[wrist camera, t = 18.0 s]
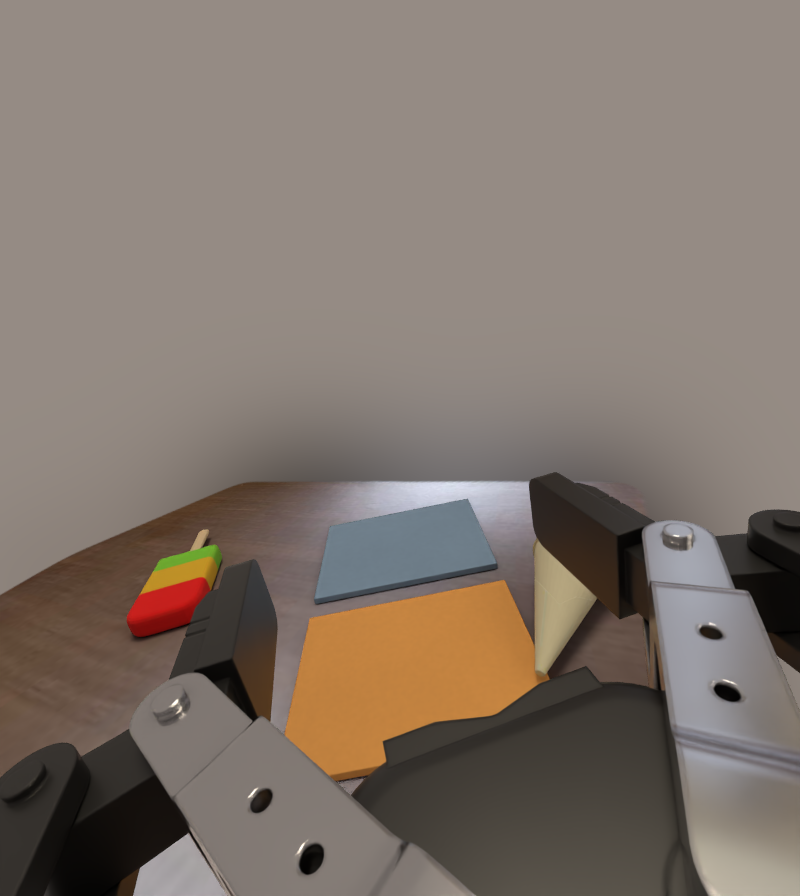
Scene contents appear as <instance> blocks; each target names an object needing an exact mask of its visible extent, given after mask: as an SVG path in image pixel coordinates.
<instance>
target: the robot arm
mask: <svg viewBox="0 0 800 896" xmlns="http://www.w3.org/2000/svg"><path fill="white" fill-rule="evenodd" d="M529 491H530V500H531V510H532V519H533V527H534V531H535V534H536V536H537V539H538V540H539V542H540V544H541V545H542V546H543V547H544V548H545V549H546V550H547V551H548V552H549V553H550V554H551V555H552V556H553V557H554V558H556V559H557V560H558V561H559V562H560V563H561V564H562V565H563V566H564V567H565V568H566V569H567V570H568V571H569V572H570V573H571V574H572V575H573V576H575V577H576V578H577V579H578V580H579V581H580V582H581V583H582V584H583V585H584V586H585V587H586V588H587V589H588V590H589V591H590V592H591V593H592V594H594V595H595V596H596V597H597V598H598V599H599V600H600V601H601V602H602V603H603V604H604V605H605V606H606V607H607V608H608V609H609V610H610V611H611V612H613V613H614V614H615V615H616V616H617V617H618V618H619V619H622V618H625V617H628V616H630V615H633V614H636V613H639V614H640V615H641V616H642V617H643V636H644V646H645V656H646V667H647V677H648V687H647V686H642V685H637V684H632V683H623V682H599V681H598V680H597V679H596V677H595V676H594V675H593V674H592V672H591V671H590V670H589V669H588V668H587V666H585V667H582V668H580V669H577V670H574V671H572V672H569V673H566V674H564V675H561V676H558V677H555V678H553V679H550V680H547V681H545V682H542V683H539V684H538V685H536V686H535V687H533V688H532V689H531V690H529V691H528V692H527V693H525V694H524V695H522V696H521V697H520V698H518V699H517V700H515V701H514V702H513V703H511V704H510V705H508V706H507V707H506V708H504V709H503V710H501V711H500V712H498V713H497V714H495V715H491V716H485V717H475V718H466V719H456V720H447V721H438V722H433V723H431V724H428V725H425V726H422V727H420V728H417V729H414V730H412V731H409V732H406V733H404V734H401V735H398V736H395V737H393V738H390V739H387V740H385V741H382V742H383V747H384V752H385V757H386V762H385V763H383V764H382V765H380V766H379V767H378V768H376V769H375V770H374V771H373V772H372V773H371V774H370V775H369V776H367V777H366V778H365V779H364V780H363V782H362V783H361V784H360V785H359V786H358V787H357V788H356V789H355V790H354V792H353V793H352V794H351V795H350V794H349V793H348V792H346V791H345V790H344V789H343V788H342V787H341V786H340V785H339V784H338V783H337V782H335V781H334V780H333V779H332V778H331V777H330V776H329V775H328V774H327V773H326V772H324V771H323V770H322V769H321V768H320V767H319V766H318V765H317V764H316V763H315V762H313V761H312V760H311V759H310V758H309V757H308V756H307V755H306V754H305V753H304V752H302V751H301V750H300V749H299V748H298V747H297V746H296V745H295V744H294V743H293V742H291V741H290V740H289V739H288V738H287V737H286V736H285V735H284V734H283V733H282V732H280V731H279V730H278V729H277V728H276V727H275V726H274V725H273V724H272V723H271V722H270V718H271V706H272V693H273V680H274V667H275V655H276V642H277V618H276V612H275V609H274V605H273V602H272V600H271V597H270V594H269V592H268V589H267V586H266V583H265V581H264V578H263V575H262V573H261V570H260V567H259V565H258V563H257V561H256V560H255V559H253V560H249V561H246V562H243V563H239V564H236V565H232V566H229V567H226V568H225V570H224V573H223V576H222V579H221V583H220V586H219V589H217V590H213V591H210V592H208V593H207V594H206V595H205V597H204V598H203V599H202V600H201V601H200V603H199V604H198V605H197V606H196V607H195V610H194V613H193V615H192V618H191V621H190V625H189V626H188V629H187V632H186V634H185V636H186V638H184V640H183V643H182V645H181V648H180V651H179V654H178V656H177V659H176V662H175V664H174V667H173V670H172V673H171V675H170V678H169V680H168V681H167V682H165V683H163V684H162V685H160V686H159V687H157V688H156V689H155V690H154V691H152V692H151V693H150V694H149V695H148V696H147V697H146V698H145V699H144V700H143V701H142V702H141V703H140V705H139V706H138V707H137V709H136V710H135V712H134V714H133V716H132V718H131V721H130V726H129V729H128V730H127V731H125V732H123V733H122V734H120V735H118V736H117V737H115V738H113V739H111V740H110V741H108V742H106V743H104V744H103V745H101V746H99V747H97V748H96V749H94V750H92V751H91V752H89V753H87V754H85V755H84V756H82V757H81V756H80V754H79V753H78V751H77V750H76V748H75V747H74V746H73V745H72V744H69V743H57V744H53V745H50V746H47V747H44V748H42V749H40V750H38V751H36V752H34V753H32V754H31V755H29V756H27V757H26V758H24V759H23V760H21V761H20V762H19V763H17V764H16V765H14V766H13V767H12V768H11V769H10V770H8V771H7V772H6V773H5V774H4V775H3V776H2V777H1V778H0V896H133V893H134V889H135V885H136V881H137V877H138V873H139V869H140V867H142V866H143V865H144V864H146V863H147V862H149V861H150V860H151V859H153V858H154V857H156V856H157V855H158V854H160V853H161V852H163V851H164V850H165V849H167V848H168V847H169V846H171V845H172V844H174V843H175V842H176V841H178V840H179V839H181V838H182V837H183V836H185V835H186V834H189V836H190V837H191V839H192V841H193V842H194V844H195V845H196V847H197V849H198V850H199V852H200V853H201V855H202V856H203V858H204V860H205V861H206V863H207V864H208V866H209V868H210V869H211V871H212V872H213V874H214V876H215V877H216V879H217V880H218V882H219V884H220V885H221V887H222V888H223V890H224V892H225V893H226V895H227V896H800V710H799V708H798V706H797V703H796V701H795V698H794V696H793V693H792V691H791V689H790V687H789V684H788V682H787V679H786V677H785V674H784V672H783V670H782V667H781V665H780V663H779V660H778V658H777V656H778V657H780V658H781V659H782V660H784V661H785V662H786V663H787V664H789V665H790V666H791V667H793V668H794V669H795V670H797V671H798V672H799V673H800V512H797V511H790V510H765V511H760V512H757V513H755V514H753V515H751V516H750V518H749V522H748V533H747V534H736V535H725V536H714V535H713V534H712V533H711V532H710V531H709V530H707V529H705V528H703V527H701V526H699V525H696V524H693V523H689V522H684V521H676V520H665V521H658V522H655V521H653V520H651V519H650V518H648V517H646V516H644V515H643V514H641V513H639V512H637V511H636V510H634V509H632V508H630V507H629V506H627V505H625V504H623V503H620V501H618V500H617V499H615V498H613V497H609V495H608V494H606V493H604V492H603V491H601V490H599V489H597V488H596V487H592V486H588V485H585V484H581V483H574V482H572V481H571V480H569V479H567V478H566V477H564V476H562V475H561V474H559V473H557V472H554V473H550V474H547V475H544V476H540V477H537V478H534V479H531V480H530V483H529ZM776 655H777V656H776Z"/></svg>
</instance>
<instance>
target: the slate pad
mask: <svg viewBox="0 0 800 896" xmlns="http://www.w3.org/2000/svg"><path fill="white" fill-rule="evenodd" d="M496 568H498V567H497V562H496V560H495V558H494V555H493V553H492V551H491V549H490V547H489V544H488V542H487V540H486V538H485V536H484V533H483V531H482V529H481V527H480V525H479V522H478V520H477V518H476V516H475V514H474V511H473V509H472V507H471V505H470V503H469V500H468V499H464V500H459V501H454V502H449V503H444V504H439V505H434V506H429V507H424V508H419V509H414V510H409V511H404V512H399V513H394V514H389V515H384V516H379V517H374V518H369V519H364V520H359V521H354V522H349V523H344V524H339V525H334V526H330V529H329V533H328V538H327V542H326V547H325V551H324V556H323V561H322V565H321V570H320V574H319V579H318V583H317V588H316V593H315V597H314V601H315V604H319V603H324V602H329V601H334V600H339V599H344V598H349V597H354V596H359V595H364V594H369V593H375V592H380V591H385V590H390V589H395V588H400V587H405V586H410V585H415V584H420V583H425V582H430V581H435V580H441V579H446V578H451V577H456V576H461V575H466V574H471V573H476V572H481V571H486V570H491V569H496Z"/></svg>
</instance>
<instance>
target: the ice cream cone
mask: <svg viewBox="0 0 800 896" xmlns="http://www.w3.org/2000/svg"><path fill="white" fill-rule="evenodd" d="M533 555H534V558H535V578H534V579H535V673H536V674H537V675H539V676H541V677H543V676H545V675H546V673H547V672H548V670H549V669H550V667H551V666H552V664H553V663H554V661H555V660H556V658H557V657H558V656H559V654H560V653H561V651H562V650H563V648H564V647H565V645H566V644H567V642H568V641H569V639H570V638H571V636H572V635H573V633H574V632H575V631H576V629H577V628H578V626H579V625H580V623H581V622H582V620H583V619H584V617H585V616H586V614H587V613H588V611H589V610H590V609H591V607H592V606H593V604H594V603H595V601H596V599H597V597H596V596H595V595H594V594H592V593H591V592H590V591H589V590H588V589H587V588H586V587H585V586H584V585H583V584H582V583H581V582H580V581H579V580H578V579H577V578H576V577H575V576H573V575H572V574H571V573H570V572H569V571H568V570H567V569H566V568H565V567H564V566H563V565H562V564H561V563H560V562H559V561H558V560H557V559H556V558H554V557H553V556H552V555H551V554H550V553H549V552H548V551H547V550H546V549H545V548H544V547H543V546H542V545H541V544H540V542H539V540H538V539H536V540H535V542H534V545H533Z"/></svg>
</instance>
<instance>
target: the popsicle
mask: <svg viewBox="0 0 800 896" xmlns="http://www.w3.org/2000/svg"><path fill="white" fill-rule="evenodd" d="M208 534H209V530H208V529H206V530H202V531H200V532H199V534H198V536H197V538H196V540H195V542H194V544H193V546H192V548H191V550H190V551H189V552H186V553H182V554H178V555H175V556H171V557H168V558H164V559H160V561H159V563H158V564H157V566H156V568H155V569H154V571H153V573H152V574H151V576H150V578H149V579H148V581H147V583H146V585H145V586H144V588H143V590H142V591H141V593H140V595H139V596H138V598H137V600H136V601H135V603H134V605H133V607H132V608H131V610H130V612H129V614H128V616H127V624H128V626H129V628H130V630H131V632H132V633H133V634H134V635H135V636H137V637H144V636H148V635H152V634H156V633H159V632H162V631H166V630H169V629H172V628H176V627H179V626H182V625H185V624H188V623H190V621H191V618H192V615H193V613H194V610H195V607H196V606H197V605H198V604H199V603H200V601H201V600H202V599H203V598H204V597H205V595H206V594H207V593H208V592H210V591H211V589H212V586H213V583H214V580H215V577H216V574H217V571H218V568H219V565H220V562H221V560H222V555H221V552H220V550H219V548H218V546H216V545H211V546H207V547H204V548H202V547H203V545H204V543H205V540H206V538H207V536H208Z"/></svg>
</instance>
